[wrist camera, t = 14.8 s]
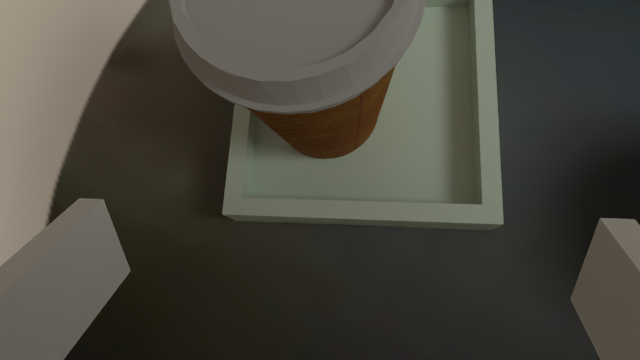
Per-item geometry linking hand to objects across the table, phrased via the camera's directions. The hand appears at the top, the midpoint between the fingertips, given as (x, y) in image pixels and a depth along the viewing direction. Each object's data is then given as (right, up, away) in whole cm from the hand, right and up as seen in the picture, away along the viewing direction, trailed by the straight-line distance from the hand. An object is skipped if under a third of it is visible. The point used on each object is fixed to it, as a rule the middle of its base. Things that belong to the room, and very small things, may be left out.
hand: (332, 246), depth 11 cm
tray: (+2, +6, +15) cm, 16 cm away
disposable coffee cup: (0, +6, +14) cm, 15 cm away
